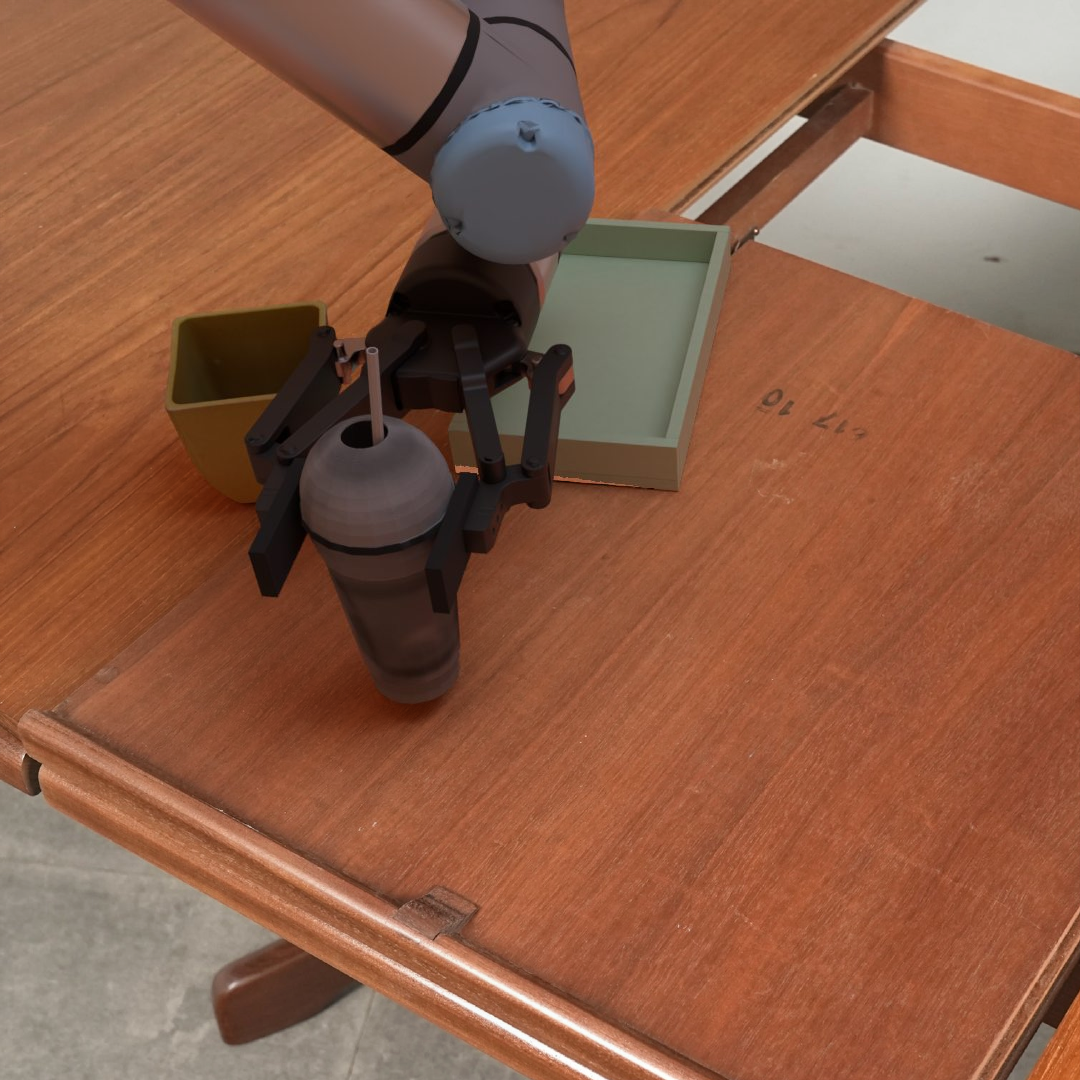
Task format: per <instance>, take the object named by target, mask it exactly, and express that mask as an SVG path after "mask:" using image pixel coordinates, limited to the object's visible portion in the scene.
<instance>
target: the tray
mask: <svg viewBox="0 0 1080 1080" xmlns="http://www.w3.org/2000/svg"><path fill="white" fill-rule="evenodd" d="M731 244H732V243H731V225H717V224H703V223H702V224H701V223H686V222H670V221H669V222H667V221H652V220H651V221H650V220H636V219H619V218H602V217H600V218H599V217H588V220H587V222H586V224H585V225H584V227H583V228H582V230H581V231H580V232H579V234H578V235H577V238H575V239H574V240H572V241H571V242H570V243H569V244H568V246H566V247H565V248H564V250H563V252H562V255H561V257H560V260H559V264H558V267H557V270H556V272H555V275H554V278H553V280H552V283H551V286H550V289H549V291H548V294H547V297H546V300H545V302H544V305H543V308H542V311H541V313H540V315H539V319H538V322H537V325H536V328H535V331H534V333H533V336H532V339H531V341H530V344H529V347H528V350H530V351H534V352H539V353H544V354H545V353H546V352H547V351H548V349H549V348H550V347H551V346H553V345H556V344H566V345H569V346H570V347H571V349H572V356H573V368H574V378H575V392H574V394H573V395H572V397H571V398H570V399H569V401H568V402H567V404H566V405H565V407H564V408H563V409H562V411H561V418H560V426H559V435H558V444H557V452H556V461H555V470H554V476H560V477H563V478H566V477H568V478H579V479H582V480H591V481H595V482H600V481H601V482H604V483H615V484H625V485H633V486H639V487H643V488H642V489H647V488H654V489H653V490H660V491H672V492H673V491H674V492H679V490H680V486H681V481H682V477H683V474H684V469H685V464H686V460H687V456H688V451H689V448H690V444H689V443H691V439H692V436H693V435H692V434H693V431H692V430H694V427H693V426H695V422H696V418H695V417H697V414H698V410H697V409H699V405H698V404H700V401H701V397H702V393H703V388H704V384H705V380H704V379H706V375H707V371H706V370H708V367H709V363H710V359H711V354H712V349H713V346H712V345H714V341H715V336H716V333H715V332H717V328H718V323H719V319H720V315H721V311H722V308H723V307H722V306H723V303H724V299H725V294H726V290H727V286H728V282H729V277H730V273H731V268H732V263H731V262H732V259H731V257H732V256H731V254H732V253H731V247H732V245H731ZM713 340H714V341H713ZM700 396H701V397H700ZM529 398H530V389H529V387H528V379H527V377H524V378H523V379H522V380H520V381H519V382H517V383H515V384H513V385H512V386H510V387H508V388H507V389H505V390H503V391H502V392H500V393H498V394H497V395H495V396H493V397H492V398H490V400H491V404H492V408H493V413H494V417H495V421H496V426H497V430H498V434H499V439H500V443H501V447H502V452H503V453H504V457H505V464H506V466H508V465H515V464H521V456H522V449H523V442H524V434H525V427H526V420H527V413H528V405H529ZM699 400H700V401H699ZM696 413H697V414H696ZM694 421H695V422H694ZM447 435H448V441H449V446H450V452H451V458H452V463H453V466H454V465H456V466H460V465H461V466H464V467H465V466H469V467H476V468H477V464H476V459H475V454H474V450H473V445H472V440H471V435H470V432H469V428H468V423H467V418H466V414H465V409H464V410H463V413H453V416H452V418H451V421H450V423H449V425H448V428H447ZM690 438H691V439H690ZM688 447H689V448H688Z"/></svg>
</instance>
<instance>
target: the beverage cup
mask: <svg viewBox="0 0 1080 1080" xmlns="http://www.w3.org/2000/svg"><path fill="white" fill-rule="evenodd" d="M366 351H367V365H368V379H369V393H370V406H371V415H370V414H367V415H362V416H356V417H352V418H350V419H347V420H344V421H342V422H340V423H338V424H337V425H335V426H334V427H332V428H331V429H329V430H328V431H327V432H325V433H324V434H323V435H322V436H321V438H320V439H319V440H318V441H317V442H316V444H315V445H314V446H313V447H312V449H311V450H310V452H309V454H308V456H307V459H306V462H305V464H304V467H303V470H302V474H301V479H300V498H301V500H300V508H299V509H300V516H301V522H302V526H303V527H304V528H305V530H306V531H307V533H308V534H307V535H308V536H309V538H310V540H311V542H312V543H313V546H314V547H315V549H316V551H317V552H318V555H319V556H320V557H321V558H322V560H323V561H324V563H325V566H326V568H327V571H328V573H329V576H330V579H331V581H332V583H333V587H334V589H335V592H336V594H337V597H338V599H339V602H340V605H341V606H342V609H343V612H344V614H345V617H346V619H347V620H346V621H347V622H348V625H349V627H350V630H351V633H352V636H353V638H354V640H355V643H356V645H357V648H358V651H359V654H360V656H361V658H362V661H363V663H364V666H365V668H366V669H367V670H368V672H369V675H370V676H371V678H372V682H373V685H374V687H375V688H376V689H377V691H378V692H379V694H380V695H382V696H383V697H385V698H387V699H388V700H390V701H394V702H397V703H401V704H420V703H426V702H430V701H432V700H434V699H437V698H439V697H441V696H442V695H444V694H445V693H447V692H449V690H450V689H451V688H452V687H453V686H454V684H456V681H457V680H458V679H459V675H460V671H461V664H460V658H461V657H460V656H461V655H460V649H461V636H460V634H461V633H460V620H459V619H460V618H459V605H458V604H459V602H458V594H457V595H456V598H455V600H454V603H453V606H452V609H451V612H450V614H443V613H433V609H432V604H431V599H430V594H429V589H428V584H427V579H426V574H425V569H424V568H425V566H426V563H427V560H428V558H429V555H430V552H431V550H432V547H433V545H434V542H435V539H436V537H437V534H438V531H439V529H440V526H441V524H442V521H443V518H444V516H445V513H446V510H447V508H448V505H449V503H450V500H451V497H452V495H453V492H454V490H455V487H456V484H457V483H456V480H455V478H454V476H453V475H452V472H450V468H449V465H448V463H447V461H446V458H445V456H444V455H443V454H442V452H441V451H440V449H439V448H438V446H436V445H435V443H434V442H433V441H432V440H431V439H430V437H429V436H428V435H427V434H425V433H424V432H423V431H422V430H421V429H419V428H417V427H416V426H414V425H412V424H411V423H408V422H406V421H405V420H403V419H397V418H394V417H389V416H385V415H382V402H381V388H380V373H379V359H378V349H377V348H375V347H369V348H368V349H366Z"/></svg>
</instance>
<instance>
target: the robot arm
mask: <svg viewBox="0 0 1080 1080" xmlns="http://www.w3.org/2000/svg"><path fill="white" fill-rule="evenodd" d="M166 1H167V2H169V3H170V4H171V5H173V6H175V7H176V8H177V9H179V10H180V11H182V12H183V13H185V14H186V15H187V16H189V17H190V18H192V19H193V20H194V21H196V22H197V23H199V24H200V25H202V26H203V27H205V28H206V29H207V30H209V31H211V32H212V33H213V34H214V35H216V36H218V37H219V38H220V39H222V40H223V41H225V42H226V43H228V44H229V45H230V46H232V47H233V48H235V49H236V50H238V51H239V52H241V54H244V56H246V57H248V58H249V59H251V60H252V61H253V62H255V63H257V64H258V65H259V66H260V67H262V68H263V69H265V70H266V71H268V72H269V73H271V74H272V75H274V76H275V77H277V79H279V80H280V81H282V82H283V83H285V84H287V85H288V86H290V88H292V89H294V90H295V91H297V92H298V93H299V94H301V95H303V96H304V97H305V98H306V99H308V100H309V101H311V102H312V103H314V104H315V105H317V107H320V108H321V109H322V110H323V111H325V112H326V113H328V114H330V115H331V116H333V117H334V118H335V119H337V120H338V121H340V122H341V123H342V124H344V125H345V126H347V127H348V128H350V129H351V130H353V131H354V132H355V133H357V134H358V135H360V136H361V137H363V138H364V139H365V140H367V141H368V142H370V143H371V144H373V145H374V146H376V147H377V148H378V149H380V150H382V151H383V152H384V153H386V154H387V155H388V156H390V157H391V158H392V159H393V160H395V161H396V162H398V164H400V165H402V166H403V167H404V168H406V169H407V170H409V171H410V172H411V173H413V174H414V175H416V177H419V178H420V179H421V180H422V181H424V182H425V183H427V184H428V185H429V189H430V190H431V199H432V202H433V204H434V207H433V208H432V211H431V212H430V215H429V216H428V219H427V221H426V223H425V225H424V226H423V228H422V231H421V233H420V235H419V237H418V239H417V241H416V243H415V244H414V247H413V248H412V250H411V252H410V256H409V257H408V260H407V262H406V263H405V266H404V268H403V270H402V272H401V274H400V276H399V278H398V280H397V282H396V284H395V286H394V288H393V290H392V293H391V295H390V298H389V301H388V305H387V308H386V312H385V314H384V317H383V320H381V321H380V322H379V323H378V324H376V325H375V326H372V327H371V328H370V329H369V330H368V331H367V333H366V335H365V337H364V336H363V337H347V338H337V337H338V336H337V333H336V328H334V327H333V326H331V325H329V326H325V325H324V326H319V327H317V328H315V329H314V330H313V331H312V333H311V339H310V345H309V352H308V354H307V355H306V356H305V358H304V359H303V360H302V362H301V363H300V364H299V365H298V367H297V368H296V369H295V371H294V372H293V373H292V375H291V376H290V377H289V379H288V380H287V381H286V383H285V384H284V385H283V387H282V388H281V389H280V391H279V392H278V393H277V395H276V396H275V397H274V399H273V400H272V401H271V403H270V404H269V405H268V407H267V408H266V409H265V410H264V412H263V413H262V414H261V416H260V417H259V418H258V420H257V421H256V422H255V424H254V425H253V426H252V428H251V429H250V430H249V432H248V433H247V434H246V436H245V438H244V442H245V445H246V449H247V452H248V455H249V459H250V462H251V465H252V469H253V472H254V476H255V479H256V481H257V482H258V483H259V484H262V485H264V487H263V490H262V491H261V493H260V495H259V497H258V499H257V501H256V502H254V503H255V512H256V515H257V518H258V522H259V525H260V526H259V528H258V530H257V533H256V534H255V536H254V539H253V541H252V543H251V545H250V547H249V548H248V551H247V554H248V558H249V560H250V563H251V568H252V570H253V573H254V577H255V580H256V582H257V586H258V589H259V592H260V596H261V597H267V598H276V599H278V598H279V596H280V595H281V591H282V590H283V587H284V585H285V583H286V581H287V580H288V579H287V578H288V577H289V575H290V573H291V570H292V568H293V566H294V564H295V562H296V559H297V557H298V555H299V553H300V552H301V549H302V547H303V544H304V542H305V540H306V538H307V536H308V535H309V534H308V533H307V531H306V530H305V528H304V527H303V526H302V522H301V516H300V509H299V508H300V500H301V498H300V479H301V474H302V470H303V467H304V464H305V462H306V459H307V456H308V454H309V452H310V450H311V449H312V447H313V446H314V445H315V444H316V442H317V441H318V440H319V439H320V438H321V436H322V435H323V434H324V433H325V432H327V431H328V430H329V429H331V428H332V427H334V426H335V425H337V424H338V423H340V422H342V421H344V420H347V419H350V418H352V417H356V416H362V415H367V414H370V415H371V406H370V393H369V379H368V365H367V351H366V349H368V348H369V347H375V348H377V349H378V359H379V373H380V388H381V402H382V415H385V416H389V417H394V418H397V419H401V420H403V418H404V417H406V416H407V415H408V414H409V413H410V412H411V411H412V410H415V411H418V410H419V411H421V410H428V409H429V410H430V409H431V410H432V409H435V410H438V411H442V412H445V413H452V414H454V413H463V410H464V409H465V414H466V418H467V423H468V428H469V432H470V435H471V440H472V445H473V450H474V454H475V459H476V464H477V468H478V473H479V475H477V473H470V472H461V474H459V477H458V479H457V483H455V484H456V487H455V490H454V492H453V495H452V497H451V500H450V503H449V505H448V508H447V510H446V513H445V516H444V518H443V521H442V524H441V526H440V529H439V531H438V534H437V537H436V539H435V542H434V545H433V547H432V550H431V552H430V555H429V558H428V560H427V563H426V566H425V568H424V569H425V574H426V579H427V584H428V589H429V594H430V599H431V604H432V609H433V613H443V614H450V612H451V609H452V606H453V603H454V600H455V598H456V595H457V596H458V592H459V589H460V586H461V583H462V580H463V577H464V575H465V572H466V570H467V566H468V564H469V561H470V558H471V556H472V554H482V555H488V554H489V553H490V552H491V551H492V550H493V548H494V547H495V544H496V541H497V538H498V534H499V532H500V530H501V527H502V524H503V521H504V518H505V515H506V514H507V513H508V512H509V511H510V510H511V508H512V507H514V506H517V505H522V504H526V506H527V507H528V508H530V509H532V510H543V509H545V508H547V507H548V506H549V505H550V504H551V502H552V495H553V487H554V486H553V485H554V481H553V479H554V470H555V461H556V452H557V444H558V435H559V426H560V418H561V411H562V409H563V408H564V407H565V405H566V404H567V402H568V401H569V399H570V398H571V397H572V395H573V394H574V392H575V378H574V368H573V356H572V349H571V347H570V346H569V345H566V344H556V345H553V346H551V347H550V348H549V349H548V351H547V352H546V353H545V354H544V353H539V352H534V351H530V350H528V347H529V344H530V341H531V339H532V336H533V333H534V331H535V328H536V325H537V322H538V319H539V315H540V313H541V311H542V308H543V305H544V302H545V300H546V297H547V294H548V291H549V289H550V286H551V283H552V280H553V278H554V275H555V272H556V270H557V267H558V264H559V260H560V257H561V255H562V252H563V250H564V248H565V247H566V246H568V244H569V243H570V242H571V241H572V240H574V239H575V238H577V235H578V234H579V232H580V231H581V230H582V228H583V227H584V225H585V224H586V222H587V220H588V218H590V215H591V213H592V210H593V206H594V202H595V196H596V177H595V176H596V174H595V158H596V157H595V156H596V155H595V154H596V153H595V152H596V151H595V144H594V139H593V136H592V133H591V130H590V127H589V126H588V122H587V121H588V120H587V117H586V113H585V109H584V104H583V100H582V95H581V91H580V87H579V81H578V76H577V70H576V65H575V60H574V54H573V50H572V44H571V41H570V40H571V38H570V34H569V29H568V24H567V18H566V8H565V0H166ZM361 365H362V366H361ZM360 366H361V368H360V374H359V376H358V377H357V378H356V379H355V380H354V381H353V378H352V375H353V374H354V373H355V371H356V369H357V368H358V367H360ZM524 377H527V379H528V387H529V389H530V398H529V405H528V413H527V420H526V427H525V434H524V442H523V449H522V456H521V464H515V465H508V466H506V464H505V457H504V453H503V452H502V447H501V443H500V439H499V434H498V430H497V426H496V421H495V417H494V413H493V408H492V404H491V400H490V398H492V397H493V396H495V395H497V394H498V393H500V392H502V391H503V390H505V389H507V388H508V387H510V386H512V385H513V384H515V383H517V382H519V381H520V380H522V379H523V378H524ZM343 385H345V386H347V385H348V386H347V387H346V388H344V389H343V390H342V386H343ZM341 390H342V391H341Z"/></svg>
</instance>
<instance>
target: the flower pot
mask: <svg viewBox="0 0 1080 1080" xmlns="http://www.w3.org/2000/svg"><path fill="white" fill-rule="evenodd" d="M328 316H329V315H328V309H327V305H326V303H325V302H324V301H323V300H308V301H307V300H306V301H295V302H290V303H289V302H288V303H280V304H272V305H263V306H254V307H245V308H237V309H227V310H217V311H216V310H215V311H207V312H199V313H190V314H184V315H181V316H176V317H175V318H174V319H173V320H172V323H171V339H170V340H171V342H170V358H169V359H170V360H169V368H168V374H167V383H166V390H165V396H164V409H165V411H166V413H167V415H168V417H169V419H170V421H171V423H172V426H173V427H174V429H175V431H176V434H178V436H179V439H180V440H181V442H182V444H183V446H184V449H185V450H186V452H187V454H188V457H189V458H190V460H191V462H192V464H193V465H194V467H195V468H196V470H197V471H198V472H199V474H200V475H201V476H202V478H203V479H204V481H206V482H207V483H208V484H209V485H210V486H211V487H213V488H214V489H215V490H216V491H217V492H219V493H221V495H223V496H225V497H227V498H229V499H230V500H233V501H235V502H237V503H240V504H252V503H256V501H257V499H258V497H259V495H260V493H261V491H262V490H263V487H264V485H262V484H259V483H258V482H257V481H256V479H255V476H254V472H253V469H252V465H251V462H250V459H249V455H248V452H247V449H246V445H245V442H244V438H245V436H246V434H247V433H248V432H249V430H250V429H251V428H252V426H253V425H254V424H255V422H256V421H257V420H258V418H259V417H260V416H261V414H262V413H263V412H264V410H265V409H266V408H267V407H268V405H269V404H270V403H271V401H272V400H273V399H274V397H275V396H276V395H277V393H278V392H279V391H280V389H281V388H282V387H283V385H284V384H285V383H286V381H287V380H288V379H289V377H290V376H291V375H292V373H293V372H294V371H295V369H296V368H297V367H298V365H299V364H300V363H301V362H302V360H303V359H304V358H305V356H306V355H307V354H308V352H309V345H310V339H311V333H312V331H313V330H314V329H315V328H317V327H319V326H324V325H325V326H330V325H329V318H328Z"/></svg>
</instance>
